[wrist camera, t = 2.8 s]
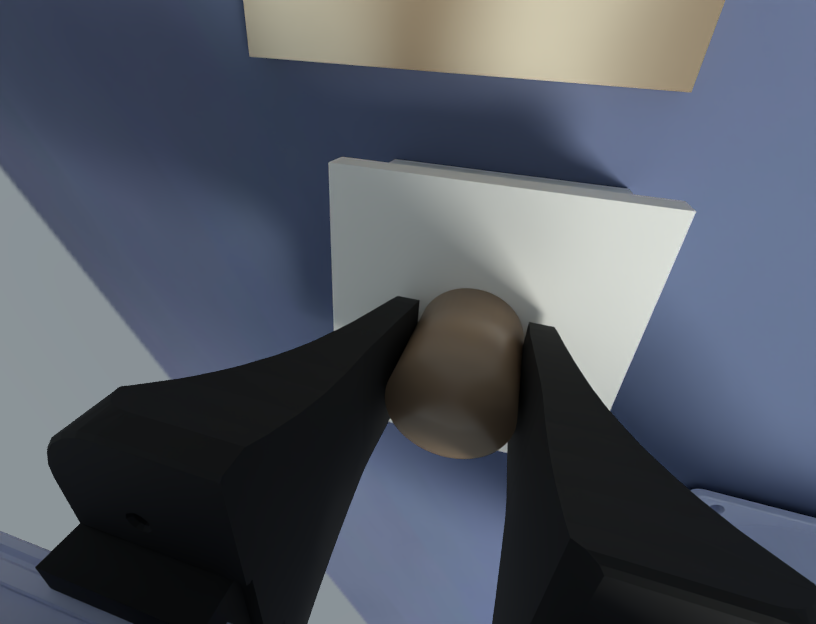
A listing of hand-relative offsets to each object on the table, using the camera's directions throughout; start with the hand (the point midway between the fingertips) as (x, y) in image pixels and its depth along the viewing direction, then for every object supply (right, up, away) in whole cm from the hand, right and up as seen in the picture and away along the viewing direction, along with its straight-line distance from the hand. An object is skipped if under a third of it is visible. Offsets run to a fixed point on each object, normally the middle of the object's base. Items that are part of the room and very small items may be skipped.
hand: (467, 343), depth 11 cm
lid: (0, +1, +1) cm, 1 cm away
